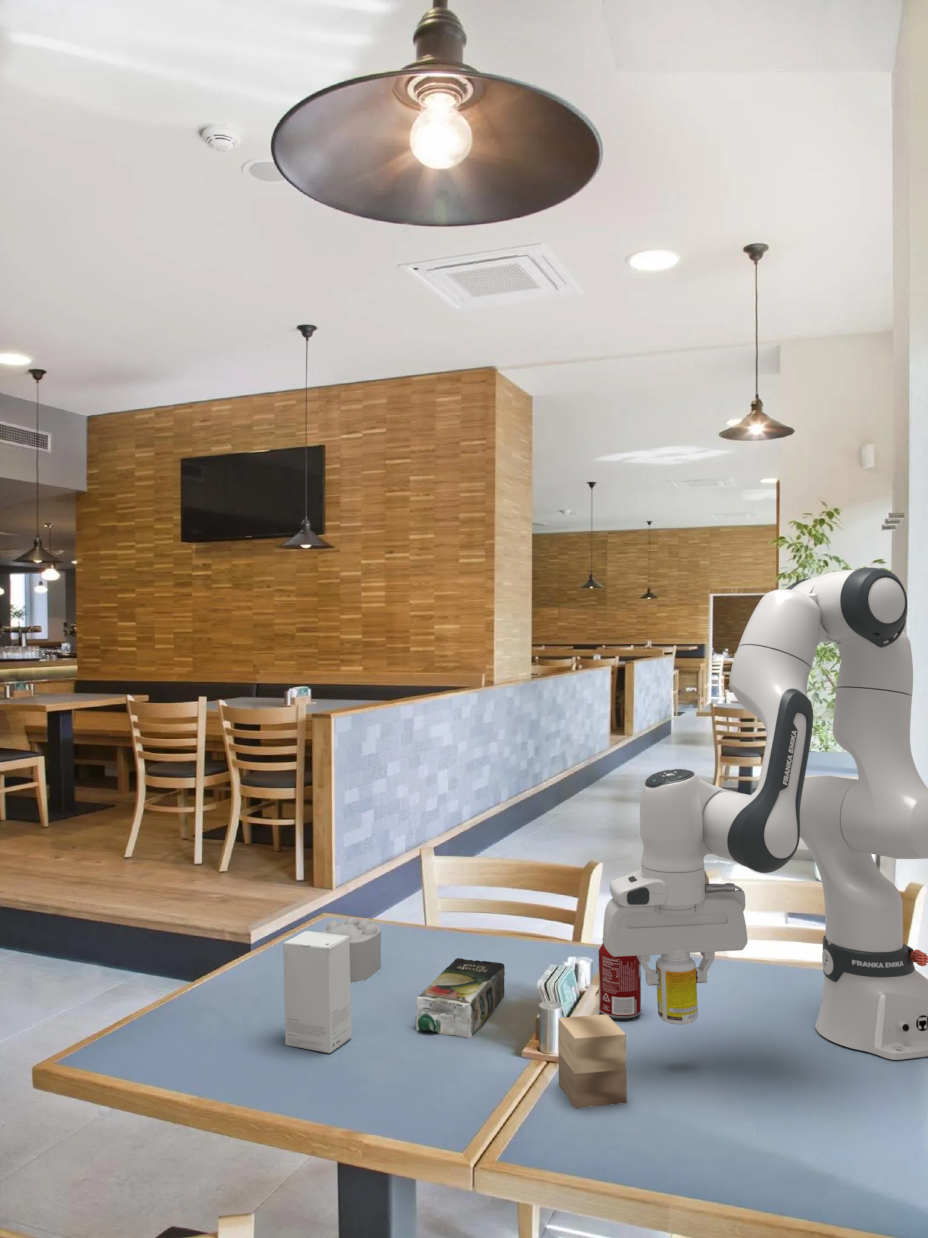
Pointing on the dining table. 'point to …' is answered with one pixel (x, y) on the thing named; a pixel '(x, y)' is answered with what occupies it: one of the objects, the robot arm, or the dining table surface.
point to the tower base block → (593, 1086)
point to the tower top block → (591, 1044)
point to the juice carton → (461, 997)
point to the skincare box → (317, 991)
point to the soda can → (619, 985)
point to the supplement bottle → (677, 988)
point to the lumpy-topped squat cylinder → (360, 946)
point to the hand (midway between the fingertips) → (676, 983)
